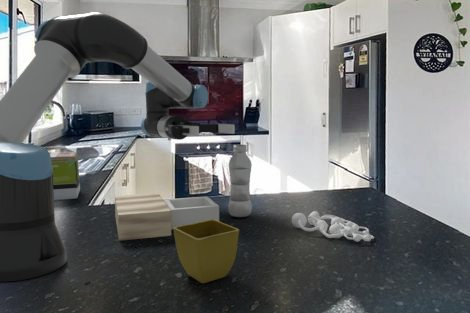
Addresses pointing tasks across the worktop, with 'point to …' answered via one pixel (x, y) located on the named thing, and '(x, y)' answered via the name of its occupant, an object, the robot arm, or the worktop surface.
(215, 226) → the flower pot
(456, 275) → the worktop surface
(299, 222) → the tangled rod sculpture
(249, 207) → the plastic bottle
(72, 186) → the tea box
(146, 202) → the beige rectangular block
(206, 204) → the frame
